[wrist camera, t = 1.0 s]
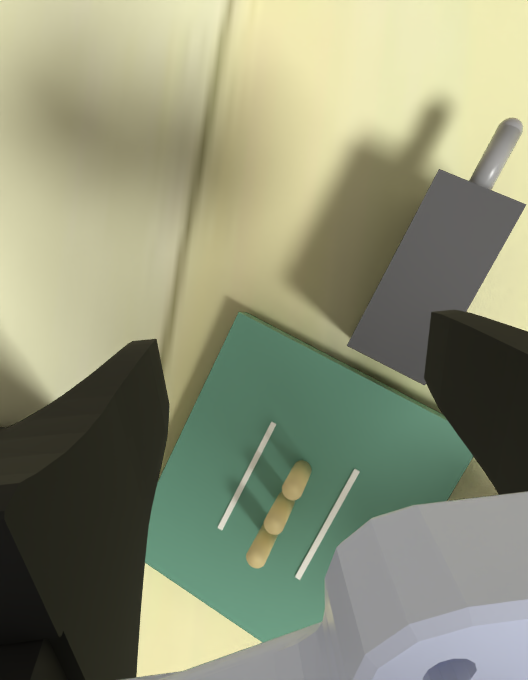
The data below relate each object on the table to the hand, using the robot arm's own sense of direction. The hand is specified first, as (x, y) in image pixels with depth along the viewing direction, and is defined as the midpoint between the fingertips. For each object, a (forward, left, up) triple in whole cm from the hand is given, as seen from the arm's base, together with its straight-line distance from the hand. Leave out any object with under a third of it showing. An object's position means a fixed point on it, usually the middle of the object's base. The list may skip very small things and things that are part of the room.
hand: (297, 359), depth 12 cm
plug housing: (-3, -6, -14) cm, 15 cm away
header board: (-2, +9, -14) cm, 16 cm away
